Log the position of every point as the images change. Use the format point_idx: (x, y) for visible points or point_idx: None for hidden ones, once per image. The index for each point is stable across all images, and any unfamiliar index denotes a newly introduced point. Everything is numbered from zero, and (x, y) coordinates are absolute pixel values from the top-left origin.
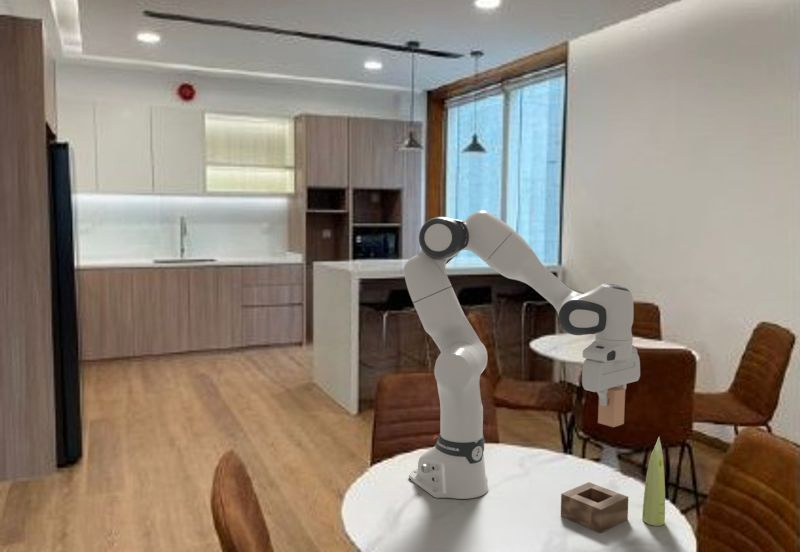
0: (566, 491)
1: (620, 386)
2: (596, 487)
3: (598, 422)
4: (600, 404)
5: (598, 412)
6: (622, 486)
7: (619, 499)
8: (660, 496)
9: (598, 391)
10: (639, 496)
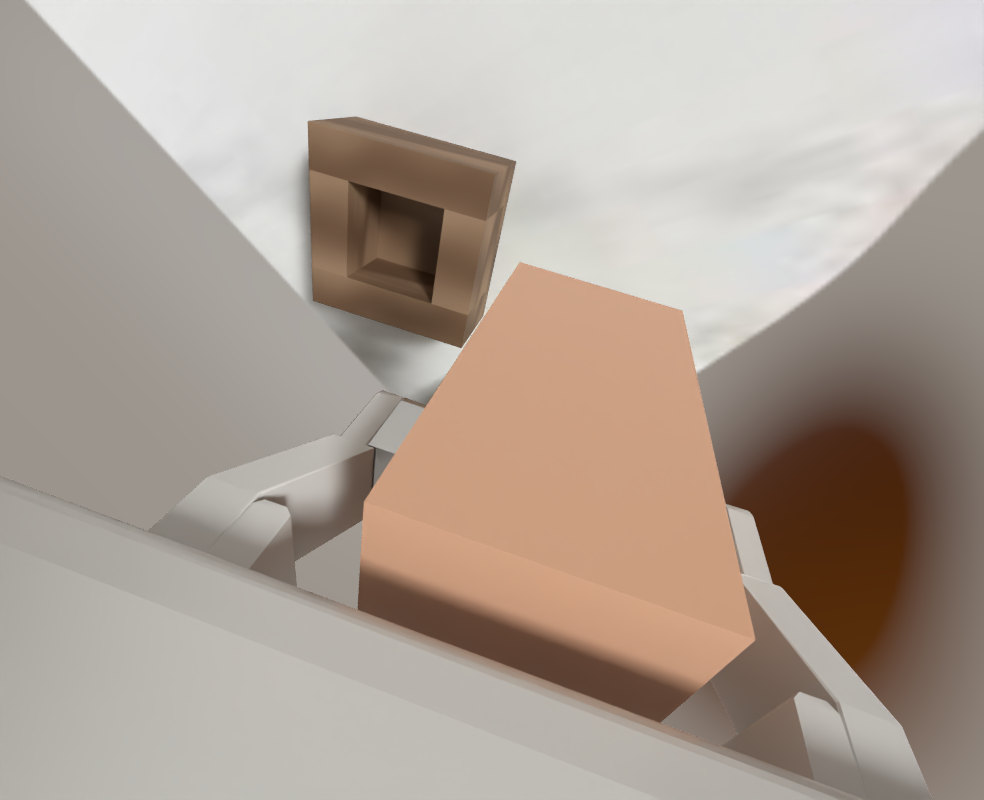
0: (340, 130)
1: (746, 749)
2: (462, 225)
3: (519, 268)
4: (383, 394)
5: (495, 301)
6: (775, 222)
7: (420, 329)
8: None
9: (199, 505)
10: (690, 306)
